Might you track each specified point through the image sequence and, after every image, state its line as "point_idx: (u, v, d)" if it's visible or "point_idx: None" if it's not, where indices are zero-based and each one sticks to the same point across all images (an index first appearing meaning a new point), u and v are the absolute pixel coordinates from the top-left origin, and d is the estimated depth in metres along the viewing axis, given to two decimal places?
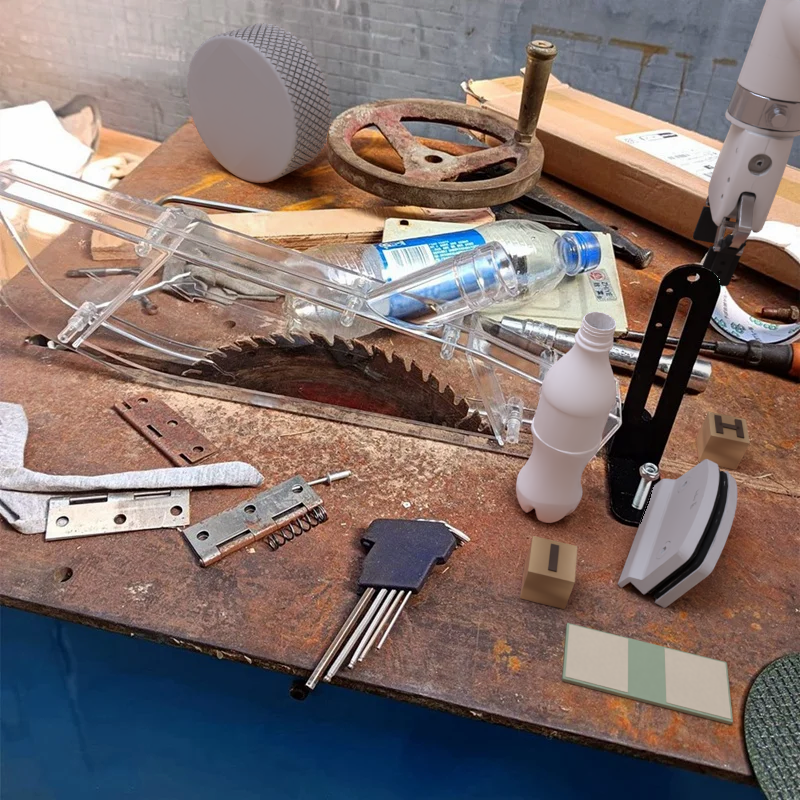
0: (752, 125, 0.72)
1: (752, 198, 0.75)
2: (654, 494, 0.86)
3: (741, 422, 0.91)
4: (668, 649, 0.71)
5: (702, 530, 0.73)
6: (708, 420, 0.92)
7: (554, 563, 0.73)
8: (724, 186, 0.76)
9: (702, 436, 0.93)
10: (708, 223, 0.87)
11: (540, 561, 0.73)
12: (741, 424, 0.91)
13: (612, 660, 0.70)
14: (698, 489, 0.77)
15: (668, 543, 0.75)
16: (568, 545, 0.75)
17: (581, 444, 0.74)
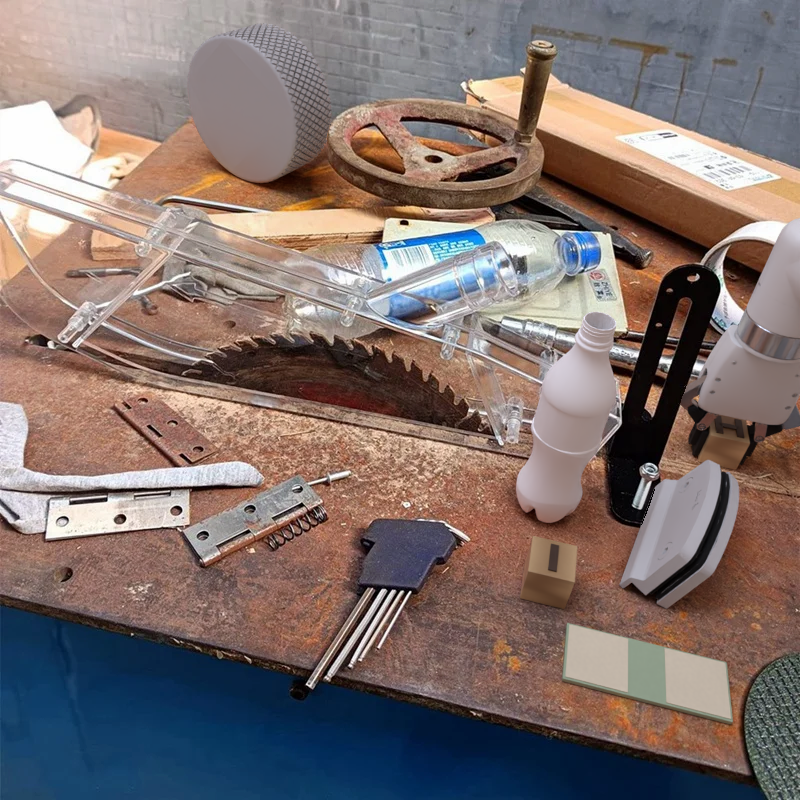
0: None
1: None
2: (656, 495, 0.86)
3: (741, 422, 0.91)
4: (668, 649, 0.71)
5: (704, 531, 0.73)
6: None
7: (554, 563, 0.73)
8: (788, 401, 0.84)
9: None
10: None
11: (540, 561, 0.73)
12: (741, 424, 0.91)
13: (612, 660, 0.70)
14: (700, 490, 0.77)
15: (670, 544, 0.75)
16: (568, 545, 0.75)
17: (581, 444, 0.74)
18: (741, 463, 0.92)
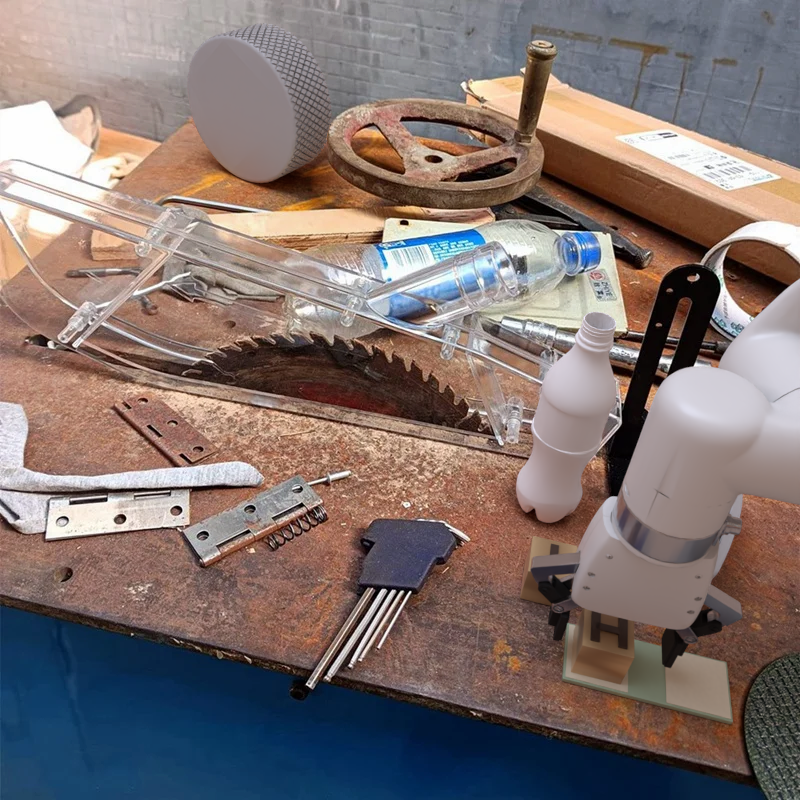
0: (709, 550, 0.56)
1: None
2: None
3: (627, 621, 0.68)
4: None
5: None
6: (583, 617, 0.68)
7: None
8: (689, 604, 0.60)
9: (577, 636, 0.69)
10: None
11: None
12: (626, 625, 0.67)
13: None
14: None
15: None
16: (568, 545, 0.75)
17: (581, 444, 0.74)
18: (669, 666, 0.66)
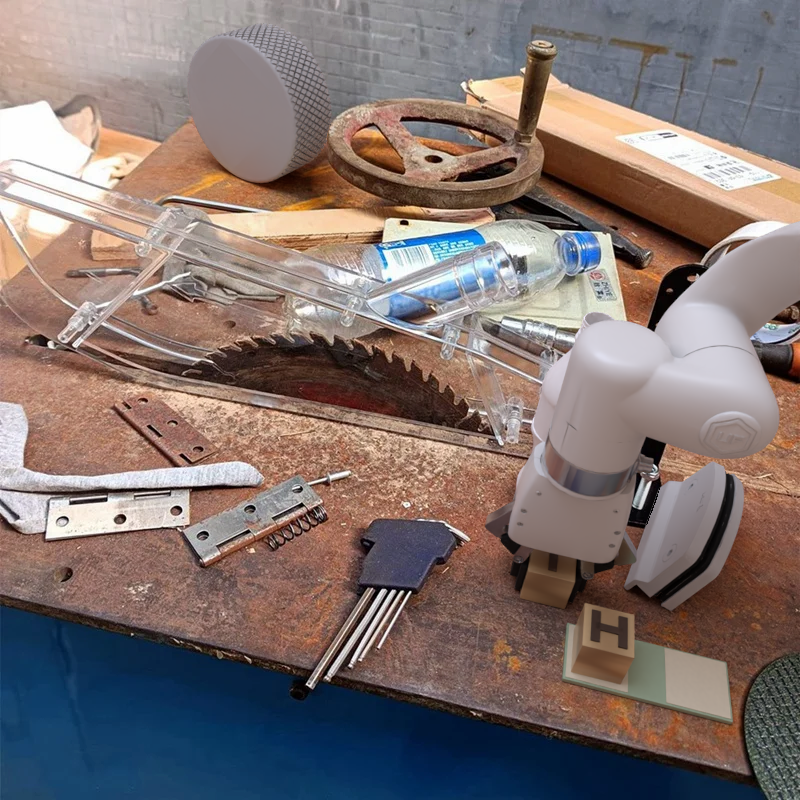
0: (624, 486, 0.63)
1: None
2: (660, 496, 0.85)
3: (627, 621, 0.68)
4: (668, 649, 0.71)
5: (709, 533, 0.72)
6: (583, 617, 0.68)
7: (554, 563, 0.73)
8: (610, 538, 0.67)
9: (577, 636, 0.69)
10: None
11: (540, 561, 0.73)
12: (626, 625, 0.67)
13: None
14: (705, 492, 0.77)
15: (674, 546, 0.75)
16: None
17: None
18: (571, 601, 0.74)
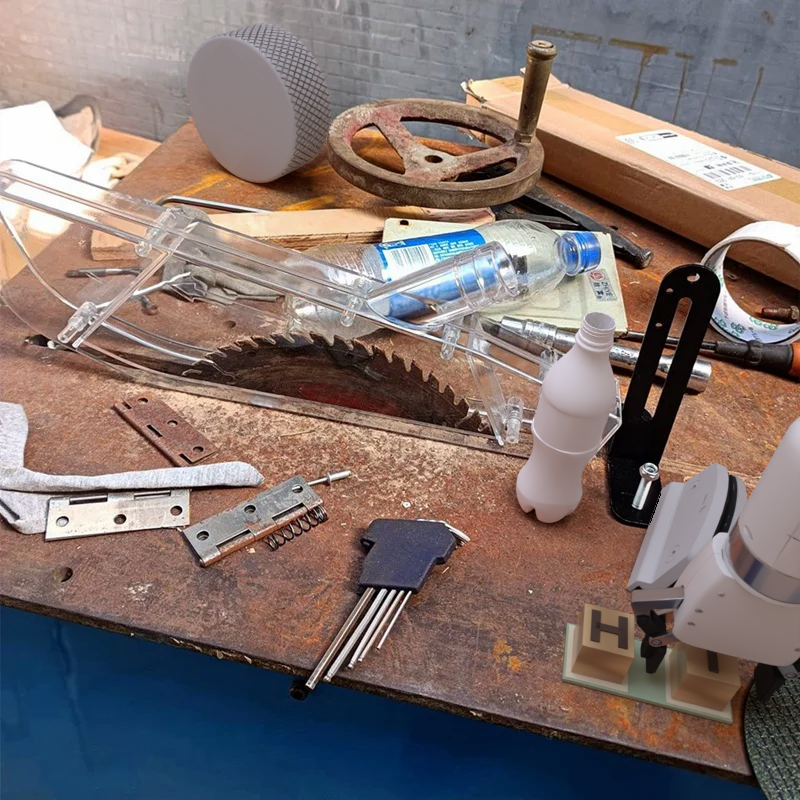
0: None
1: None
2: (663, 497, 0.85)
3: (627, 621, 0.68)
4: (668, 649, 0.71)
5: (712, 534, 0.72)
6: (583, 617, 0.68)
7: (715, 663, 0.65)
8: (798, 642, 0.59)
9: (577, 636, 0.69)
10: None
11: (698, 660, 0.66)
12: (626, 625, 0.67)
13: None
14: (708, 493, 0.77)
15: (677, 547, 0.75)
16: None
17: (581, 444, 0.74)
18: (765, 700, 0.66)
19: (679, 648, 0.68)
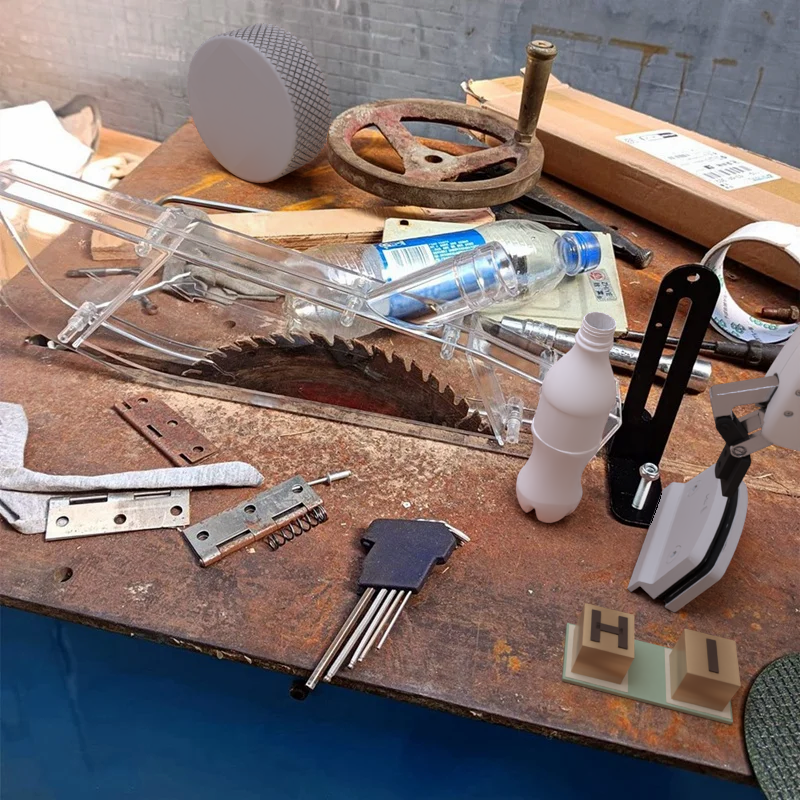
0: None
1: None
2: (664, 498, 0.85)
3: (627, 621, 0.68)
4: (668, 649, 0.71)
5: (713, 534, 0.72)
6: (583, 617, 0.68)
7: (715, 663, 0.65)
8: None
9: (577, 636, 0.69)
10: None
11: (698, 660, 0.66)
12: (626, 625, 0.67)
13: None
14: (709, 493, 0.77)
15: (678, 547, 0.75)
16: (725, 640, 0.67)
17: (581, 444, 0.74)
18: None
19: (679, 648, 0.68)
